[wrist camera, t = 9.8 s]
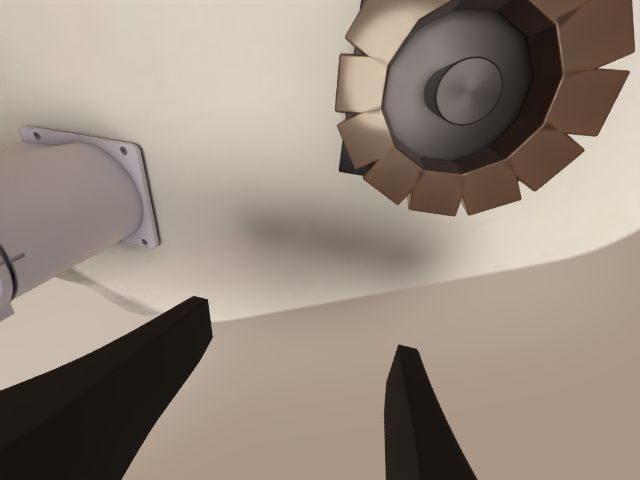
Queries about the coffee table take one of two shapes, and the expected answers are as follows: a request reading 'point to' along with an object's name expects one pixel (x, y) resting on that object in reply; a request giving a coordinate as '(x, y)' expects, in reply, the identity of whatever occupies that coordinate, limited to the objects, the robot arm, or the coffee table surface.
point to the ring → (522, 136)
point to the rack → (455, 86)
